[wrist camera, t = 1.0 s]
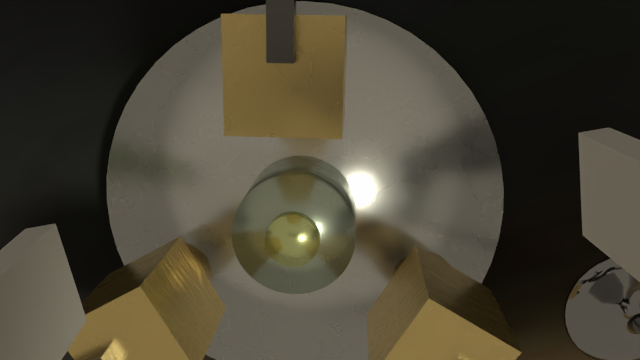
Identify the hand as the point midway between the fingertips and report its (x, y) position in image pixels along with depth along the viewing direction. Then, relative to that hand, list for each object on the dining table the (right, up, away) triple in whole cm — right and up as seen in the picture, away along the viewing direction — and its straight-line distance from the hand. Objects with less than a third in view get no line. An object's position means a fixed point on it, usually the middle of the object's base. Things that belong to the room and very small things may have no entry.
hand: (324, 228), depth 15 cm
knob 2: (-1, +7, +16) cm, 17 cm away
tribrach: (-1, 0, +19) cm, 19 cm away
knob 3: (+6, -4, +19) cm, 20 cm away
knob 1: (-8, -4, +19) cm, 21 cm away
